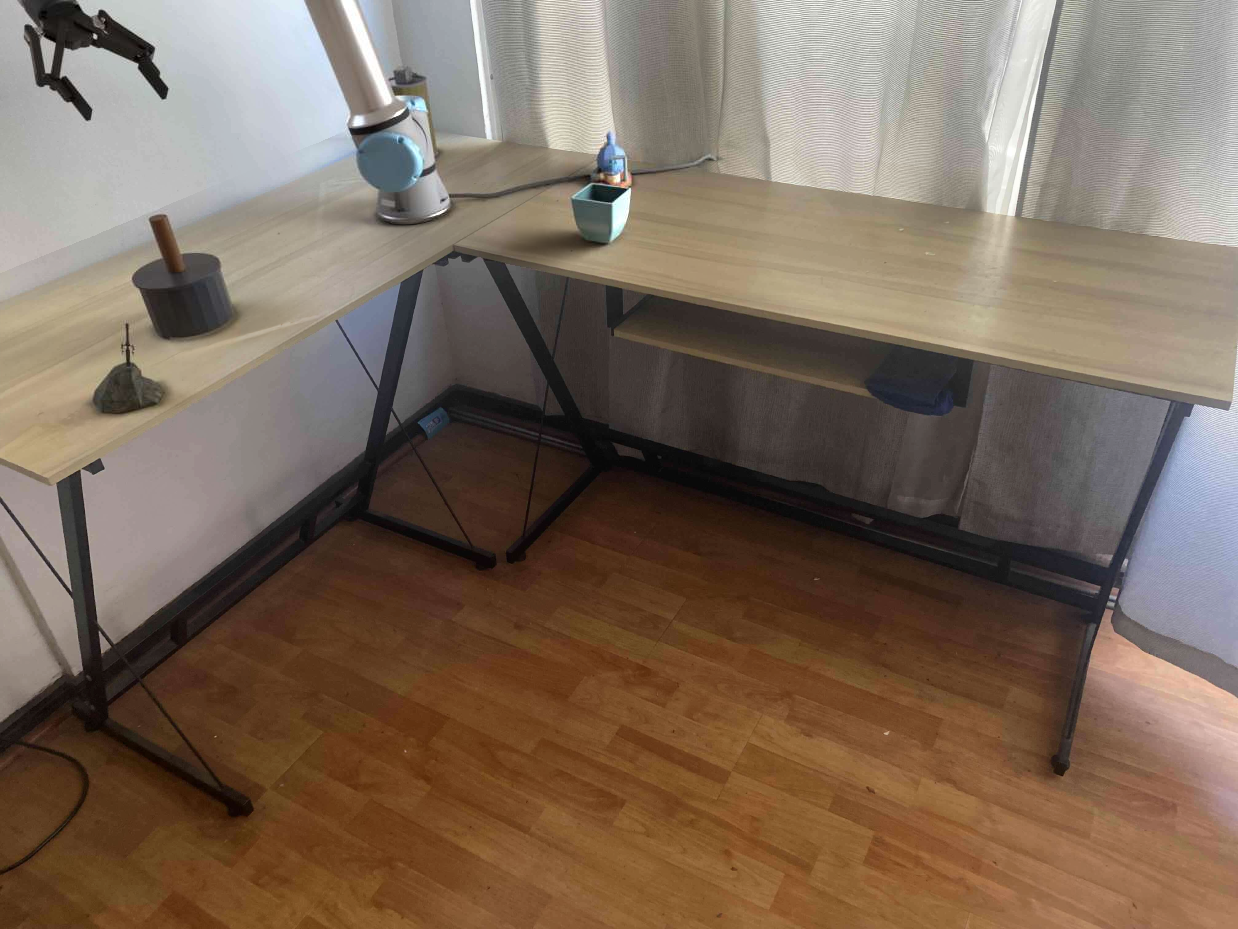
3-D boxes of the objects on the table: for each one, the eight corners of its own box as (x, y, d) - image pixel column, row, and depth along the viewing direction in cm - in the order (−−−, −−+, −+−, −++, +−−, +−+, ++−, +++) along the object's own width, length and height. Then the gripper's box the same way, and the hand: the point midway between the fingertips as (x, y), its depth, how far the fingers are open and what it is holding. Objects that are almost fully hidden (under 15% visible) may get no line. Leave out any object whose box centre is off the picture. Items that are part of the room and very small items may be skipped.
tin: (224, 298, 164) (209, 250, 158) (243, 325, 155) (227, 276, 150) (149, 318, 159) (130, 270, 153) (163, 348, 150) (144, 297, 144)
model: (589, 172, 208) (587, 131, 203) (630, 170, 208) (629, 128, 203) (590, 191, 199) (587, 148, 193) (632, 189, 199) (631, 146, 193)
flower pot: (633, 232, 180) (631, 187, 174) (614, 249, 173) (612, 203, 168) (593, 226, 183) (590, 182, 177) (573, 243, 176) (569, 198, 171)
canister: (429, 162, 219) (414, 73, 207) (388, 161, 221) (371, 73, 209) (445, 147, 227) (431, 61, 215) (405, 147, 229) (390, 61, 217)
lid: (212, 252, 159) (193, 195, 153) (231, 279, 150) (212, 219, 144) (127, 273, 154) (104, 214, 148) (142, 303, 144) (118, 241, 138)
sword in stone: (85, 418, 133) (51, 345, 126) (100, 390, 140) (68, 319, 133) (157, 408, 135) (127, 336, 127) (168, 381, 141) (141, 311, 134)
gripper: (112, 0, 161) (190, 99, 162) (-35, 29, 145) (53, 139, 146) (118, -33, 155) (198, 71, 156) (-35, -6, 139) (56, 109, 140)
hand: (128, 104), depth 151 cm, fingers open, 13 cm apart
